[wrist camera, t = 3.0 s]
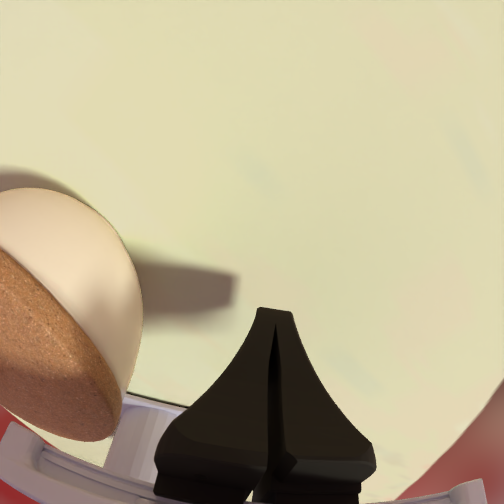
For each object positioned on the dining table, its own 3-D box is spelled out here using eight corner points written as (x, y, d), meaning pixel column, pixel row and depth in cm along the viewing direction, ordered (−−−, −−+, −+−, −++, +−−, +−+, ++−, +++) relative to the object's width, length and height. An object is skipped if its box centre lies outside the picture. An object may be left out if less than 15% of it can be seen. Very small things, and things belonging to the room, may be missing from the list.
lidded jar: (55, 327, 19) (-10, 436, 11) (-15, 182, 13) (-132, 274, 5) (199, 329, 17) (152, 496, 9) (135, 125, 12) (-60, 248, 4)
